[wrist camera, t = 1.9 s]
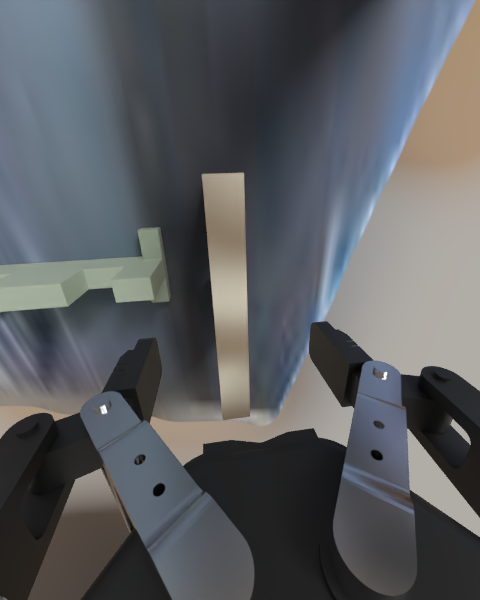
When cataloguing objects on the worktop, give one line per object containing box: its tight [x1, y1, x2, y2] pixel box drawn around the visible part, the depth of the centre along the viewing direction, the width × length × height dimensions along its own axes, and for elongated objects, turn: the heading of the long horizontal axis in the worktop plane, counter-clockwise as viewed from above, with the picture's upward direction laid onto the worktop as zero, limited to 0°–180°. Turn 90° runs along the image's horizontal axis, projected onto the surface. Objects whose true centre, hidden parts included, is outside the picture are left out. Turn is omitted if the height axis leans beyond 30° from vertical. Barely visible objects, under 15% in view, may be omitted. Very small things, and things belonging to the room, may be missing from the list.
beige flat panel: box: [202, 173, 250, 420], centre depth 22 cm, size 16×2×15 cm, turn 2°
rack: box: [0, 227, 171, 313], centre depth 23 cm, size 8×20×8 cm, turn 92°
